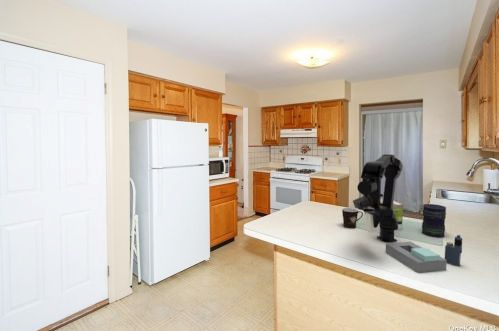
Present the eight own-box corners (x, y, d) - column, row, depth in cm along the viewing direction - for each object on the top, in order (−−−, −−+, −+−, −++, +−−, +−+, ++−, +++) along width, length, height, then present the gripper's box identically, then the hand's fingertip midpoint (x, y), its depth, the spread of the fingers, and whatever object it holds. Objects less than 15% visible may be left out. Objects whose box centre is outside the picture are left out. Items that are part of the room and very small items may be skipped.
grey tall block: (365, 229, 113) (365, 211, 112) (374, 229, 113) (374, 210, 112) (370, 232, 109) (370, 213, 108) (379, 232, 110) (380, 212, 109)
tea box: (402, 230, 138) (403, 204, 137) (384, 230, 138) (385, 204, 137) (388, 221, 153) (389, 197, 152) (371, 222, 153) (372, 198, 152)
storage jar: (449, 238, 126) (450, 209, 125) (427, 237, 128) (428, 208, 127) (438, 231, 136) (439, 204, 134) (418, 230, 138) (419, 203, 136)
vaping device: (459, 267, 98) (461, 237, 97) (443, 262, 102) (445, 233, 101) (461, 265, 99) (463, 235, 98) (445, 260, 104) (447, 231, 102)
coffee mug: (342, 228, 143) (342, 211, 142) (341, 223, 151) (341, 207, 150) (364, 230, 139) (364, 212, 138) (362, 225, 148) (362, 208, 147)
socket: (385, 252, 112) (385, 243, 112) (409, 250, 114) (410, 241, 113) (417, 272, 94) (418, 262, 94) (446, 270, 96) (446, 260, 95)
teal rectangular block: (410, 253, 101) (411, 248, 101) (424, 252, 102) (424, 247, 102) (425, 261, 94) (425, 256, 94) (439, 260, 95) (439, 255, 95)
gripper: (345, 188, 118) (344, 220, 119) (369, 196, 99) (368, 235, 101) (367, 187, 119) (366, 219, 121) (395, 195, 101) (393, 233, 102)
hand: (372, 226), depth 111 cm, fingers closed on grey tall block, 4 cm apart
